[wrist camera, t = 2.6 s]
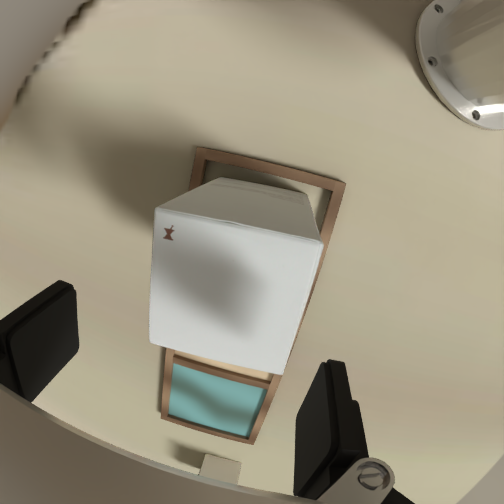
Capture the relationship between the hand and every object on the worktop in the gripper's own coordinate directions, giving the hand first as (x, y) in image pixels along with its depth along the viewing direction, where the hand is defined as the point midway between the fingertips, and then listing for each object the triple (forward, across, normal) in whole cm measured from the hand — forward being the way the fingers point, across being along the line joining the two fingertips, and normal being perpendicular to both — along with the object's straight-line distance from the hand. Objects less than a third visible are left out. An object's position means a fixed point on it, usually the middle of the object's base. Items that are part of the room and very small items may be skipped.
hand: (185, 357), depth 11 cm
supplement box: (+17, -1, -1) cm, 17 cm away
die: (+17, -4, +33) cm, 38 cm away
